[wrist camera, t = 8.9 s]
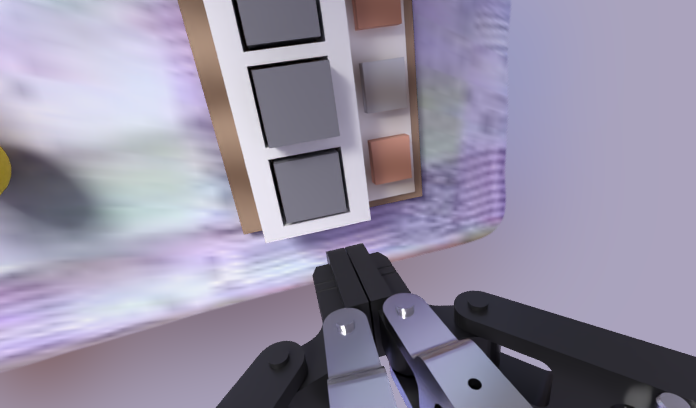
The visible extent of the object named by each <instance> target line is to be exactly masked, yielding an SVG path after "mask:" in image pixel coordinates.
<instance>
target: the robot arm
mask: <svg viewBox="0 0 696 408" xmlns="http://www.w3.org/2000/svg"><path fill="white" fill-rule="evenodd" d="M326 255H327V261H328V264H327V265H323V266H319V267H316V269H315V271H314V274H313V280H314V285H315V289H316V294H317V299H318V303H319V308H320V313H321V317H322V321H323V325H322V328H321V330H320V332H319V334H318V335H317V336H316V337H315V338H313V339H312V340H311V341H309V342H308V343H306V344H304V345H302V346H300V345H299V344H297V343H295V342H292V341H282V342H277V343H275V344H272V345H270V346H269V347H267V348H266V349H265V350H264V351H262V352H261V353H260V355H259V356H258V357H257V358H256V359H255V361H254V362H253V363H252V364H251V365H250V367H249V368H248V369H247V370H246V372H245V373H244V374H243V376H241V378H240V379H239V380H238V382H237V383H236V384H235V385H234V386H233V387H232V389H231V390H230V391H229V392H228V394H227V395H226V396H225V397H224V398H223V400H222V401H221V402H220V403H219V404H218V406H217V407H216V408H397V405H396V402H395V399H394V396H393V392H392V389H391V386H390V383H389V380H388V376H387V373H386V370H385V368H384V366H381V363H380V360H379V357H380V356H384V355H386V356H387V358H388V360H389V365H390V373H391V376H392V378H393V380H394V382H395V384H396V386H397V388H398V390H399V392H400V394H401V396H402V398H403V400H404V402H405V404H406V406H407V408H696V357H694V356H691V355H688V354H685V353H681V352H678V351H675V350H671V349H668V348H665V347H662V346H659V345H655V344H652V343H648V342H645V341H642V340H639V339H636V338H632V337H629V336H626V335H622V334H619V333H616V332H613V331H609V330H606V329H603V328H600V327H596V326H593V325H590V324H587V323H583V322H580V321H577V320H574V319H570V318H567V317H564V316H560V315H557V314H554V313H551V312H547V311H544V310H540V309H538V308H534V307H531V306H528V305H524V304H521V303H518V302H515V301H511V300H508V299H505V298H502V297H499V296H495V295H492V294H489V293H485V292H481V291H467V292H464V293H461V294H460V295H458V296H457V297H456V299H455V301H454V305H453V306H432V305H428V304H427V303H426V302H425V301H424V300H423V299H422V298H421V297H420V296H418V295H415V294H411V292H410V291H409V289H408V288H407V286H406V285H405V283H404V282H403V280H402V279H401V277H400V276H399V274H398V273H397V272H396V270H395V268H394V267H393V266H392V264H391V262H390V261H389V259H388V258H387V257H386V256H384V255H382V254H381V253H379V252H376V253H372V254H369V253H368V251H367V250H366V248H365V246H364V245H363V243H361V244H357V245H353V246H349V247H345V249H344V248H340V249H336V250H332V251H328V252H326ZM501 346H504V347H506V348H509V349H512V350H514V351H517V352H519V353H522V354H524V355H527V356H529V357H532V358H535V359H537V360H540V361H542V362H543V363H545V364H546V365H547V366H548V367H549V368H550V369H551V370H552V371H546V370H544V369H541V368H539V367H536V366H534V365H531V364H529V363H526V362H523V361H521V360H519V359H516V358H514V357H511V356H509V355H506V354H504V353H501V352H500V349H501Z"/></svg>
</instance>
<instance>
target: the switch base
mask: <svg viewBox="0 0 696 408" xmlns="http://www.w3.org/2000/svg"><path fill="white" fill-rule="evenodd" d="M234 1H235V5H236V10H237V14H238V19H239V23H240V27H241V32H242V36H243V41H244V45H245V49H246V52H248V51H250V50H249V48H248V46H247V44H246V39H245V35H244V30H243V26H242V21H241V17H240V13H239V8H238V4H237V0H234ZM178 4H179V7H180V11H181V14H182V18H183V21H184V25H185V28H186V32H187V36H188V39H189V43H190V46H191V50H192V53H193V57H194V60H195V64H196V67H197V71H198V74H199V78H200V81H201V85H202V89H203V92H204V96H205V99H206V103H207V106H208V110H209V113H210V117H211V120H212V124H213V127H214V131H215V134H216V138H217V141H218V145H219V149H220V152H221V156H222V159H223V163H224V166H225V170H226V173H227V177H228V180H229V184H230V187H231V191H232V194H233V198H234V201H235V205H236V209H237V212H238V216H239V219H240V223H241V226H242V230H243V233H244V234H248V233H253V232H257V231H262V227H261V223H260V219H259V215H258V211H257V207H256V203H255V200H254V196H253V192H252V188H251V184H250V180H249V176H248V172H247V169H246V165H245V161H244V157H243V153H242V149H241V145H240V141H239V138H238V134H237V130H236V126H235V122H234V118H233V114H232V110H231V107H230V103H229V99H228V95H227V91H226V87H225V83H224V79H223V76H222V72H221V68H220V64H219V60H218V56H217V52H216V49H215V45H214V41H213V37H212V33H211V29H210V25H209V21H208V18H207V14H206V10H205V6H204V2H203V0H178ZM345 7H346V15H347V24H348V32H349V41H350V49H351V57H352V66H353V74H354V83H355V91H356V99H357V108H358V116H359V124H360V133H361V141H362V150H363V158H364V166H365V175H366V183H367V192H368V200H369V207H373V206H378V205H383V204H387V203H392V202H397V201H401V200H406V199H411V198H415V197H420V196H422V180H421V162H420V143H419V124H418V106H417V87H416V68H415V49H414V31H413V12H412V0H345ZM313 43H316V40H315V41H314V42H313ZM305 44H309V43H305ZM297 45H301V44H297ZM290 46H294V45H290ZM282 47H286V46H282ZM274 48H279V47H274ZM267 49H271V48H267ZM259 50H263V49H259ZM251 51H256V50H251ZM315 61H319V59H314V60H307V61H300V62H292V63H285V64H278V65H271V66H264V67H256V68H250V71H251V70H258V69H266V68H273V67H280V66H287V65H294V64H301V63H308V62H315ZM251 76H252V80H253V75H252V71H251ZM253 85H254V89H255V93H256V88H255V84H254V80H253ZM256 98H257V102H258V97H257V93H256ZM258 107H259V111H260V115H261V110H260V106H259V102H258ZM261 120H262V124H263V119H262V115H261ZM263 129H264V133H265V128H264V124H263ZM265 137H266V133H265ZM266 138H267V137H266ZM271 164H272V168H273V172H274V177H275V181H276V186H277V190H278V194H279V199H280V203H281V207H283V204H282V199H281V195H280V190H279V186H278V181H277V177H276V173H275V168H274V162H273V159H271Z"/></svg>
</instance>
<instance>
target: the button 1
mask: <svg viewBox="0 0 696 408" xmlns="http://www.w3.org/2000/svg"><path fill="white" fill-rule="evenodd" d="M237 4H238V8H239V13H240V17H241V21H242V26H243V30H244V35H245V39H246V44H247V46H248V48H249V50H250V51H251V50H259V49H267V48H274V47H282V46H290V45H297V44H305V43H313V42H314V41H315V40H316V39H318V38H319V37H320V36H321V34H320V27H319V20H318V13H317V6H316V0H237Z"/></svg>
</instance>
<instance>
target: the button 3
mask: <svg viewBox="0 0 696 408" xmlns="http://www.w3.org/2000/svg"><path fill="white" fill-rule="evenodd" d="M273 162H274V168H275V173H276V177H277V181H278V186H279V190H280V195H281V199H282V204H283V208H284V213H285V217H286V221H287V224H289V223H293V222H298V221H303V220H307V219H312V218H317V217H321V216H326V215H331V214H335V213H340V212H345V211H347V209H346V202H345V195H344V189H343V182H342V175H341V168H340V162H339V155H338V152H337V151H336V150H335V149H334V148H330V149H324V150H319V151H313V152H308V153H302V154H297V155H291V156H286V157H280V158H275V159H273Z"/></svg>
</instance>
